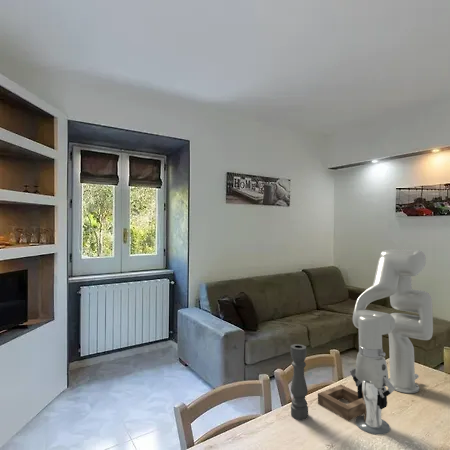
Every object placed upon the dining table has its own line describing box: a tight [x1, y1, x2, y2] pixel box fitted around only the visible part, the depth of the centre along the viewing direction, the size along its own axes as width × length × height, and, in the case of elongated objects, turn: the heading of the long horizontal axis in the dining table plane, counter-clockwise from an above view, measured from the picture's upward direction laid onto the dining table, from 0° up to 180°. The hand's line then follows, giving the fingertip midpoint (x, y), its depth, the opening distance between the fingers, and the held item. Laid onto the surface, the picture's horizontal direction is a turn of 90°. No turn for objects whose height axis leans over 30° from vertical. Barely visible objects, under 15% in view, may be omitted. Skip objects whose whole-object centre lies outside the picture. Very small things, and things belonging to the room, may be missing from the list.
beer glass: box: [362, 379, 383, 429], centre depth 112 cm, size 7×7×15 cm
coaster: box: [354, 414, 391, 435], centre depth 111 cm, size 11×11×1 cm
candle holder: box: [290, 343, 309, 421], centre depth 118 cm, size 6×6×25 cm
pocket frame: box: [317, 384, 365, 422], centre depth 124 cm, size 14×14×4 cm
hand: (371, 402), depth 112 cm, fingers open, 7 cm apart
